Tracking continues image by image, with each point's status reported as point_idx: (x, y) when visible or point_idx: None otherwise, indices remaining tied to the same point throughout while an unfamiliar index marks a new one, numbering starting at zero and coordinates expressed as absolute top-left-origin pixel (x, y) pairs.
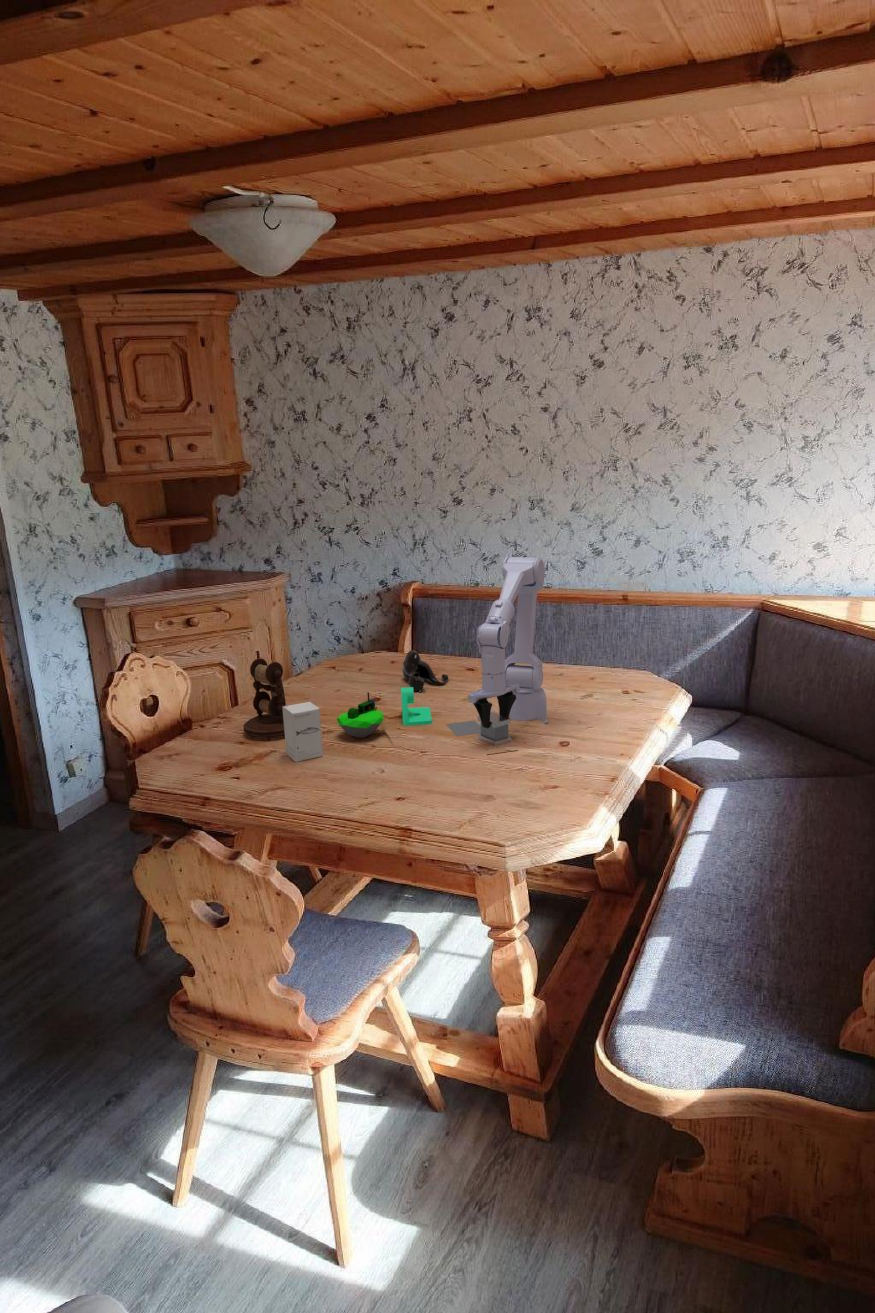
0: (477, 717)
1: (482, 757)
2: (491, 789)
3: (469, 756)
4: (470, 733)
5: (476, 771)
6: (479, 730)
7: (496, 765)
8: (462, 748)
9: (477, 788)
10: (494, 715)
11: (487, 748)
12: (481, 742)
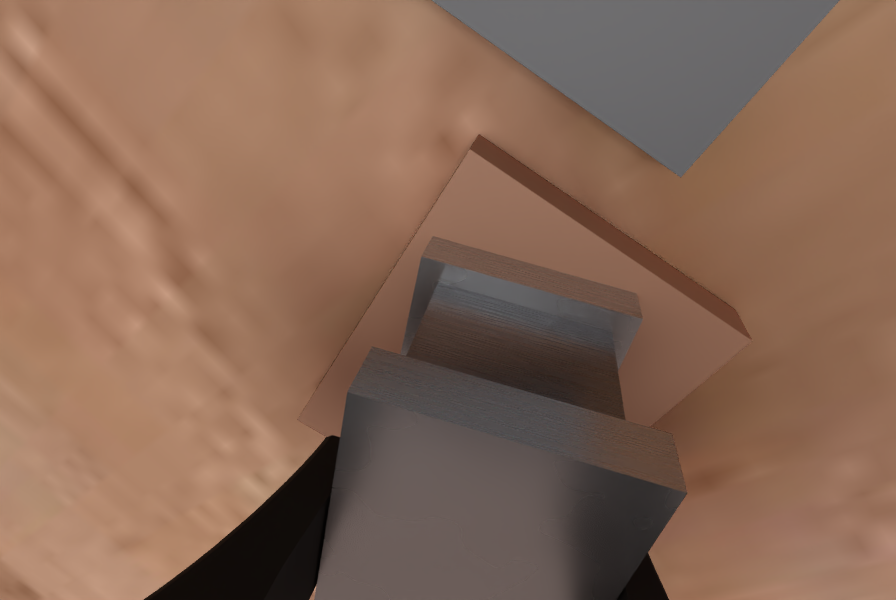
0: (352, 382)
1: (271, 383)
2: (63, 578)
3: (216, 303)
4: (531, 36)
5: (112, 454)
6: (694, 61)
7: (248, 498)
8: (285, 146)
9: (17, 536)
10: (542, 559)
11: (316, 415)
12: (384, 310)
